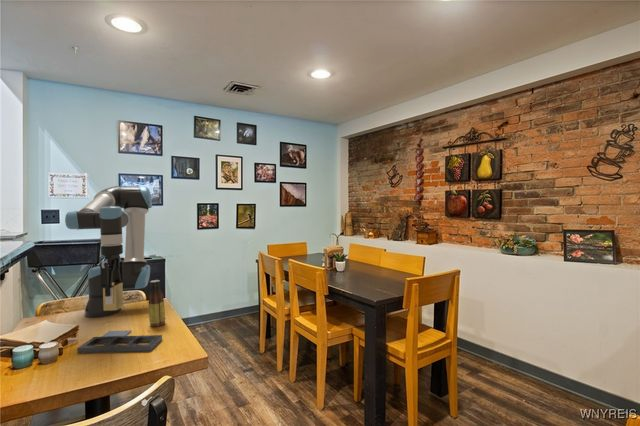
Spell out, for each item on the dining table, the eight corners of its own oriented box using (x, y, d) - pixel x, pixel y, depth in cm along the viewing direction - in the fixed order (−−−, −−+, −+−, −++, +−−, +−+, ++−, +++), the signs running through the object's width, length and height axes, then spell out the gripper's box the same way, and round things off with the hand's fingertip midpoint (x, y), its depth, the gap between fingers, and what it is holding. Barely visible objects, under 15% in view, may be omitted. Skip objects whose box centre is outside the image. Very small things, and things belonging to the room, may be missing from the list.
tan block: (110, 306, 139) (110, 282, 139) (123, 306, 140) (122, 282, 139) (103, 310, 134) (102, 285, 134) (116, 310, 135) (115, 285, 134)
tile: (109, 332, 142) (109, 330, 142) (131, 331, 142) (131, 330, 142) (96, 341, 133) (96, 339, 133) (119, 340, 133) (119, 339, 133)
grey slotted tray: (94, 341, 132) (94, 336, 132) (162, 340, 134) (162, 335, 134) (77, 353, 122) (77, 348, 122) (150, 351, 124) (150, 346, 124)
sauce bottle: (162, 321, 155) (161, 278, 154) (167, 324, 150) (166, 280, 149) (147, 324, 150) (145, 280, 149) (151, 328, 146) (150, 283, 145)
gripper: (114, 242, 145) (116, 295, 146) (88, 248, 127) (89, 309, 128) (132, 241, 145) (134, 295, 146) (108, 247, 127) (110, 308, 128)
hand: (113, 301), depth 137 cm, fingers closed on tan block, 5 cm apart
